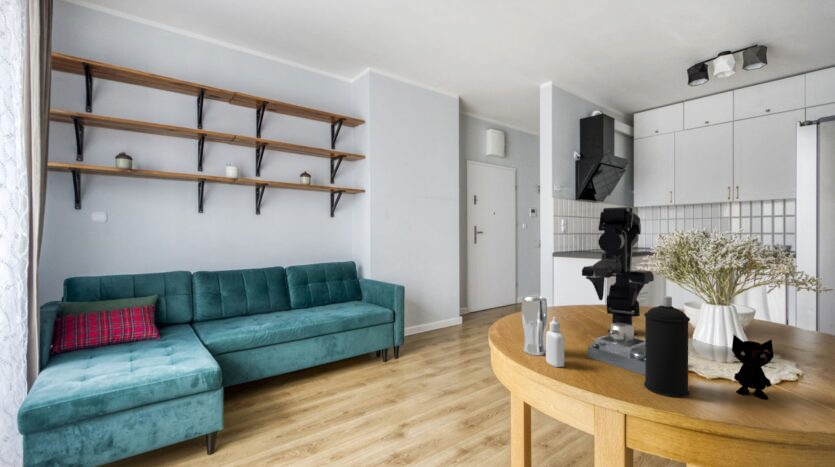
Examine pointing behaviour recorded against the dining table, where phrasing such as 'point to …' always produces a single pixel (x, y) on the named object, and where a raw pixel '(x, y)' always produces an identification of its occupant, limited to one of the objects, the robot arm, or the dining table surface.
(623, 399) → the dining table surface
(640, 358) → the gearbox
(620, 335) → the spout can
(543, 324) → the beer glass
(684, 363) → the aerosol can
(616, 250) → the robot arm
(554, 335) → the eye dropper bottle
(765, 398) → the cat figurine
